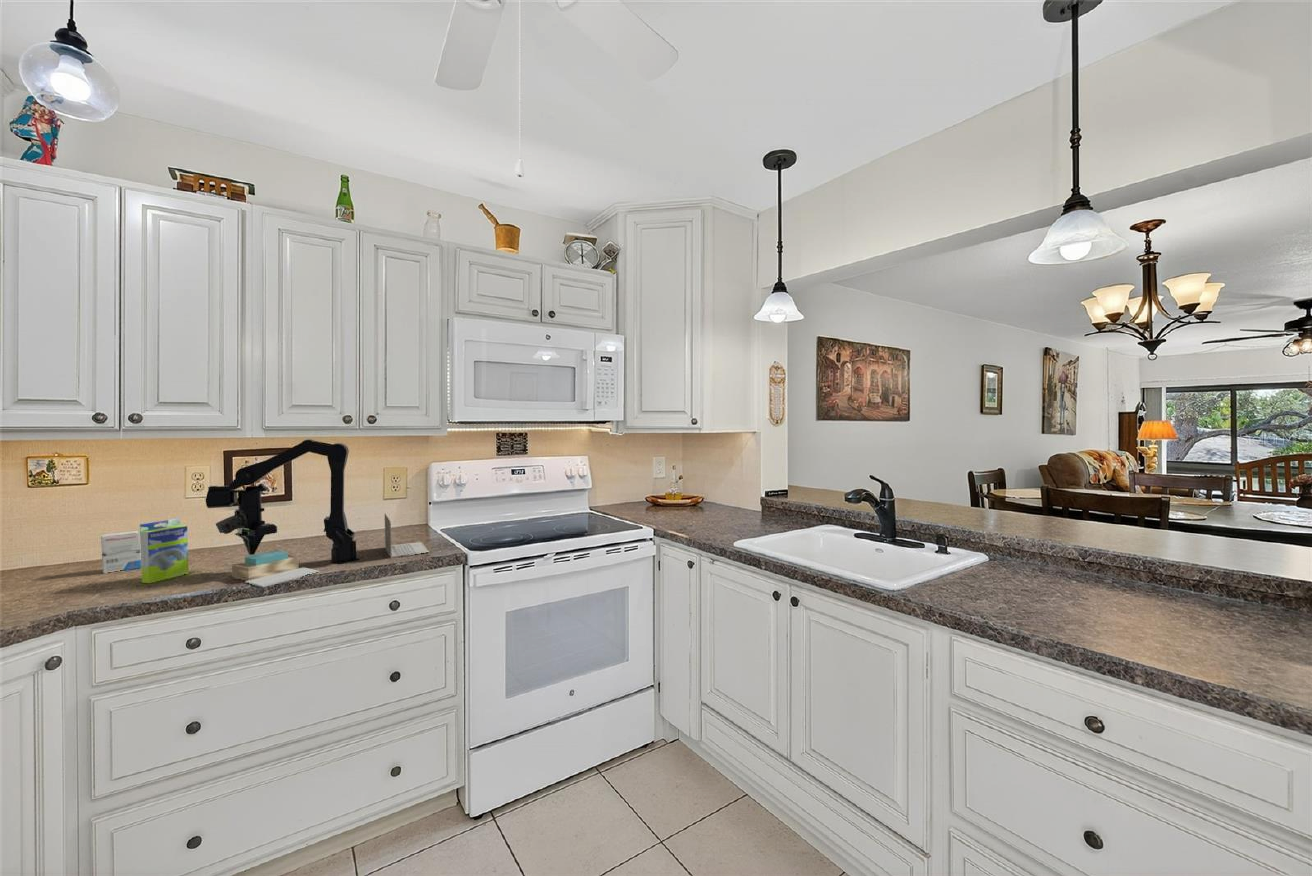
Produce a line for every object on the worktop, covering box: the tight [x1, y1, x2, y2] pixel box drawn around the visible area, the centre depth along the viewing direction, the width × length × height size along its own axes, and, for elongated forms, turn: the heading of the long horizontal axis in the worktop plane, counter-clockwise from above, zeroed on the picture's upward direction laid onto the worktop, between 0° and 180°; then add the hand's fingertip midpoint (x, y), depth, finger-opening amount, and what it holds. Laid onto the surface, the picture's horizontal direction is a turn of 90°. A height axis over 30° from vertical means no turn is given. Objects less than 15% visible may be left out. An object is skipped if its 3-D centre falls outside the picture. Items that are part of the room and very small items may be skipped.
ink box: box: [100, 530, 142, 574], centre depth 167 cm, size 9×5×12 cm, turn 134°
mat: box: [244, 566, 320, 588], centre depth 158 cm, size 16×9×1 cm, turn 153°
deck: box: [231, 554, 300, 581], centre depth 162 cm, size 14×9×4 cm, turn 153°
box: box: [139, 517, 190, 584], centre depth 158 cm, size 10×4×17 cm, turn 163°
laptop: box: [384, 513, 430, 559], centre depth 190 cm, size 18×12×13 cm
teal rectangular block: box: [244, 549, 289, 566], centre depth 162 cm, size 9×6×2 cm, turn 153°
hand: (251, 554), depth 166 cm, fingers closed
